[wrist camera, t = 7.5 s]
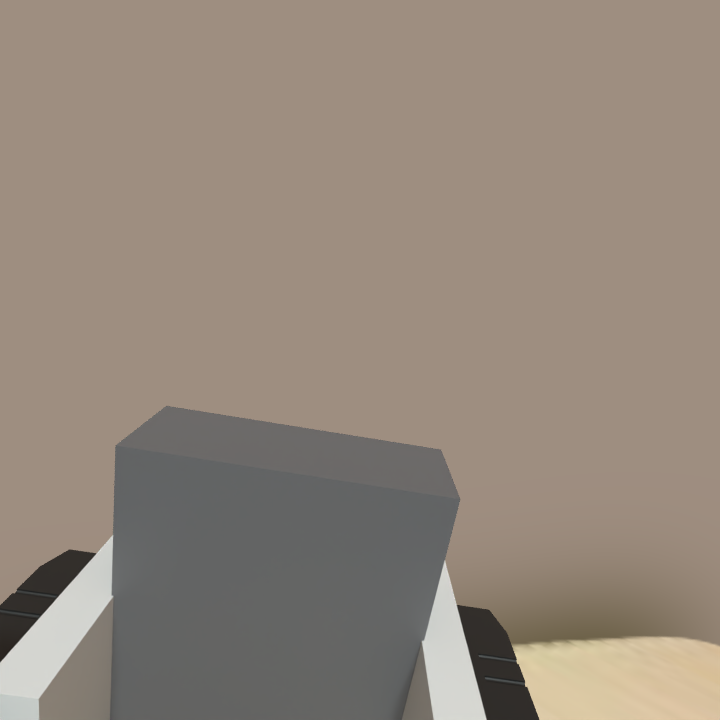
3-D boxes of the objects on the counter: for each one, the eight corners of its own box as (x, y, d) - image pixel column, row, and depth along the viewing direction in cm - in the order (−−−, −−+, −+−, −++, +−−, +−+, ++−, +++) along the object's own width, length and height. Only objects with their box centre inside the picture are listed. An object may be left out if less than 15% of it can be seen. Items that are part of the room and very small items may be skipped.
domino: (350, 929, 9) (460, 498, 6) (103, 900, 8) (116, 445, 6) (352, 827, 10) (440, 450, 8) (143, 799, 10) (166, 405, 8)
